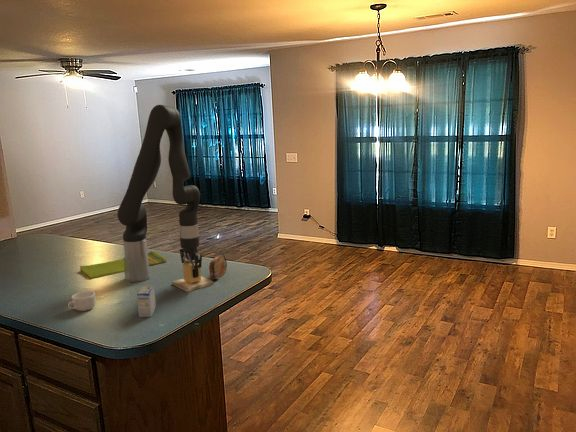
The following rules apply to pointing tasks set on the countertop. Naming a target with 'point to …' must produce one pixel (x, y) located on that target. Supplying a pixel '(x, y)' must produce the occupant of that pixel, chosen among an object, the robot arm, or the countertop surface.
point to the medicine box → (146, 301)
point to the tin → (218, 267)
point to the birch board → (192, 284)
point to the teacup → (83, 300)
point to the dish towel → (116, 266)
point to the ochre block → (190, 273)
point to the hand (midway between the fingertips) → (192, 275)
